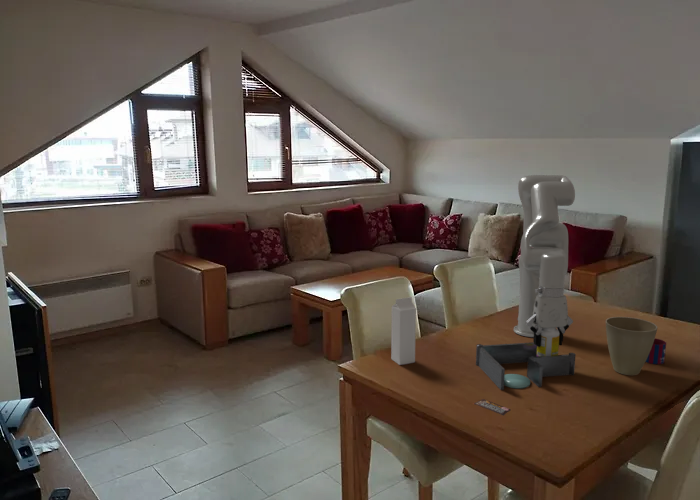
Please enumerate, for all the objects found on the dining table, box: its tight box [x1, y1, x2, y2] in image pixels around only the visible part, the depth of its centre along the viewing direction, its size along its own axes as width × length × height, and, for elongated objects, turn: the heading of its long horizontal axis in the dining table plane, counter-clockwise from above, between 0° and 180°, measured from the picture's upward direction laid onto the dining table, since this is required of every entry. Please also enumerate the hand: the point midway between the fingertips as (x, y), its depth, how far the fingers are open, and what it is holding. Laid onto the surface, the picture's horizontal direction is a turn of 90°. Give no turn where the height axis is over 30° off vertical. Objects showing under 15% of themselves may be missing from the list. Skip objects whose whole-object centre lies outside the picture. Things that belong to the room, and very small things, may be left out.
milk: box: [390, 296, 417, 366], centre depth 195 cm, size 6×6×22 cm
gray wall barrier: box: [475, 342, 577, 391], centre depth 186 cm, size 20×28×7 cm
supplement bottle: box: [537, 327, 560, 356], centre depth 189 cm, size 7×7×13 cm
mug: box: [645, 337, 667, 365], centre depth 196 cm, size 7×10×7 cm
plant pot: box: [605, 316, 658, 376], centre depth 186 cm, size 15×15×16 cm
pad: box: [504, 373, 531, 389], centre depth 180 cm, size 9×9×1 cm
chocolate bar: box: [472, 398, 511, 416], centre depth 164 cm, size 11×5×1 cm, turn 43°
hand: (547, 344), depth 189 cm, fingers closed on supplement bottle, 6 cm apart
